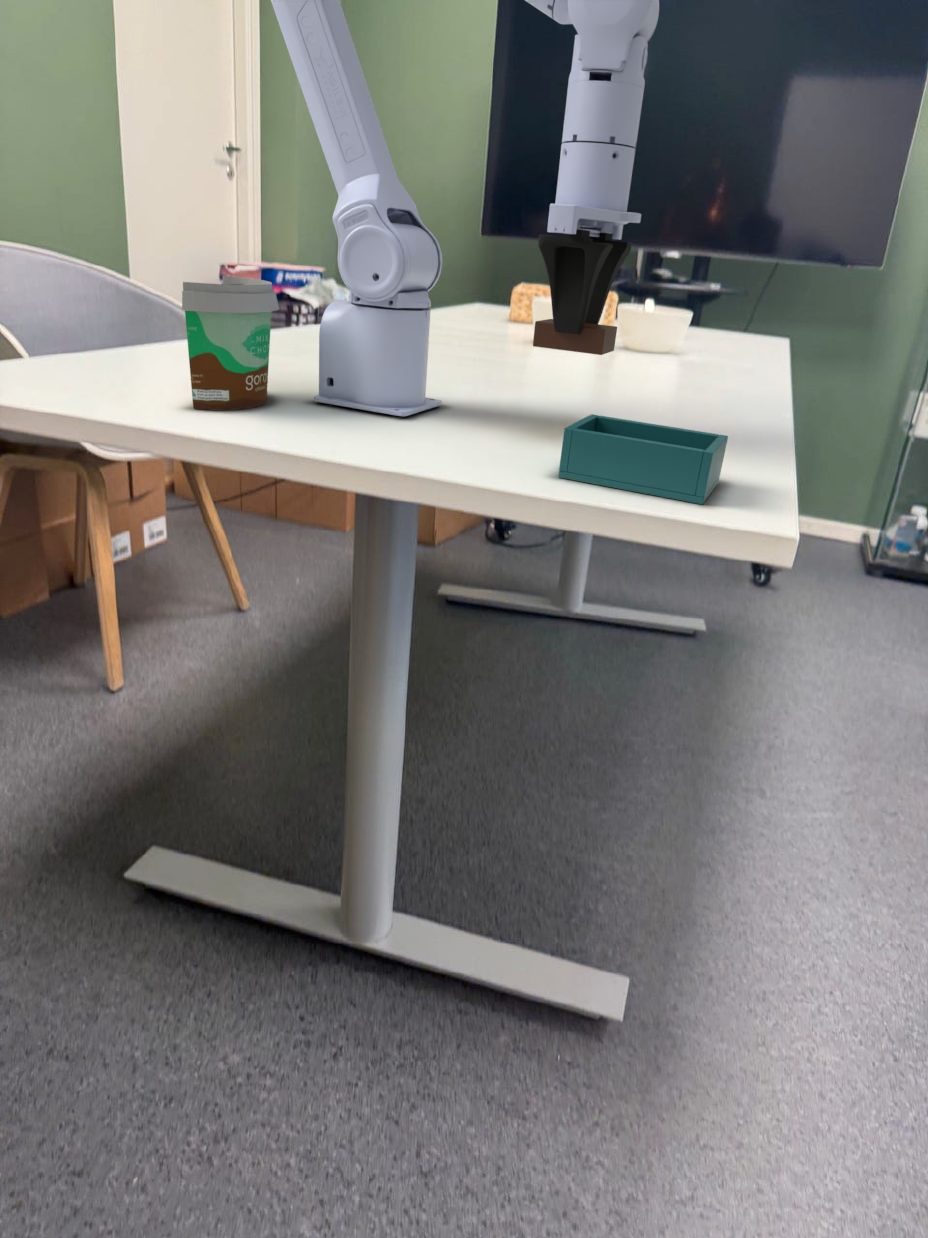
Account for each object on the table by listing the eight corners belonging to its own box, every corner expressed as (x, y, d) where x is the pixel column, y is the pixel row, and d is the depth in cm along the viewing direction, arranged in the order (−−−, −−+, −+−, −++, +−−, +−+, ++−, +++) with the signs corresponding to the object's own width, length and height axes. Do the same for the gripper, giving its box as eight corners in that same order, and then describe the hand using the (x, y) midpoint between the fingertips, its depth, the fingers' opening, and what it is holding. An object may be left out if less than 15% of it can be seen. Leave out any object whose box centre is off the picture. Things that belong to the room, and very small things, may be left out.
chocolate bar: (532, 346, 71) (535, 321, 70) (547, 342, 75) (550, 318, 74) (601, 355, 69) (605, 329, 68) (614, 351, 72) (617, 326, 72)
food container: (262, 418, 70) (259, 288, 66) (187, 411, 70) (180, 281, 66) (292, 392, 81) (292, 280, 77) (228, 387, 81) (224, 274, 77)
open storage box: (557, 477, 60) (564, 428, 59) (585, 459, 66) (591, 413, 64) (702, 504, 57) (713, 452, 55) (718, 483, 62) (728, 435, 61)
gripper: (626, 136, 58) (598, 343, 64) (668, 159, 70) (641, 330, 76) (529, 132, 60) (510, 332, 66) (586, 155, 73) (566, 322, 78)
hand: (575, 331), depth 71 cm, fingers closed on chocolate bar, 4 cm apart
